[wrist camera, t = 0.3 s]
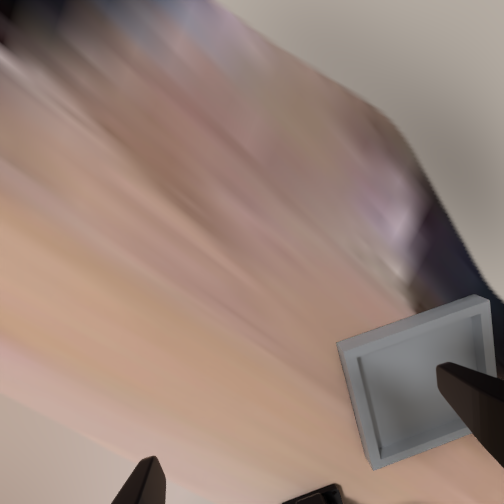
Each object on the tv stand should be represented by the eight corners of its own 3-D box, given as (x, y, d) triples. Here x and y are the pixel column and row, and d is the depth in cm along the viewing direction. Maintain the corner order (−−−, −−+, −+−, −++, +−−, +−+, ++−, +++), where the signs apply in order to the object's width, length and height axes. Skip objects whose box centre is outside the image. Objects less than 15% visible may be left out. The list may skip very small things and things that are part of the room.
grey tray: (486, 410, 29) (501, 422, 28) (365, 456, 28) (373, 470, 27) (474, 294, 26) (489, 300, 24) (336, 342, 25) (343, 351, 24)
